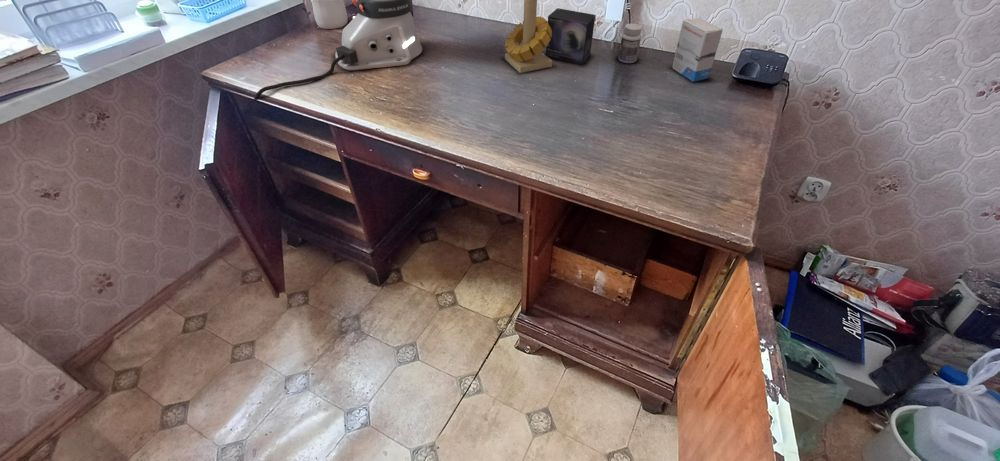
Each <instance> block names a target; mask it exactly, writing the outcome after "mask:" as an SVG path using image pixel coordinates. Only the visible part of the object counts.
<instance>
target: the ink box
mask: <svg viewBox="0 0 1000 461" xmlns="http://www.w3.org/2000/svg"><path fill="white" fill-rule="evenodd" d="M723 30H724V29H723V28H721V27H719V26H717V25H715V24H713V23H711V22H709V21H707V20H705V19H703V18H701V17H696V18H689V19H684V20H682V23H681V28H680V32H679V35H678V40H677V45H676V49H675V54H674V58H673V61H672V67H671V69H673V70H674V71H676V72H677V73H679V74H680V75H682V76H683V77H684V78H686V79H688V80H689V81H690V82H692V83H694V82H698V81H703V80H706V79H709V78H710V75H711V72H712V67H713V65H714V61H715V57H716V55H717V50H718V47H719V44H720V40H721V38H722V33H723Z"/></svg>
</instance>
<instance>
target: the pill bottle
mask: <svg viewBox="0 0 1000 461" xmlns="http://www.w3.org/2000/svg"><path fill="white" fill-rule="evenodd" d="M641 32H642V26H641V25H640V24H638V23H627V24H625V26H624V29H623V33H622V35H621V40H620V45H619V51H618V55H617V56H618V57H617V58H618V61H620V62H621V63H624V64H633V63H636V62H637V60H638V56H639V51H640V46H641V40H642V34H641Z"/></svg>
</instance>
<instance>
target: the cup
mask: <svg viewBox="0 0 1000 461" xmlns="http://www.w3.org/2000/svg"><path fill="white" fill-rule="evenodd" d="M310 1H311V4H312V11H313V17H314V20H315V23H316V24H317V26H318V28H320V29H323V30H336V29H341V28H343V27H346V26H347V25H348V19H349V18H348V13H347V12H348V11H347V9H346V8H347V7H346V5H345V2H344V1H345V0H310Z"/></svg>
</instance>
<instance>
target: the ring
mask: <svg viewBox="0 0 1000 461" xmlns="http://www.w3.org/2000/svg"><path fill="white" fill-rule="evenodd" d="M523 23H524V20H522V22H520V23H518V24H517V25H516V26H514V27H513V30H511V31H510V32H509V34H508V36H507V37H506V40H505V45H504V47H505V50H506V51H507V53H509V54H510V56H511V57H512V58H513V59H514V60H516V61H523V60H525V61H526V60H528V59H531V58H533V57H534V54H535V55H536V56H537V55H538V54H539V53H540V52H542V53H543V51H544V50H545V48H546V47H547V45H548V43H549V42H550V40H551V39H550V38H551V37H552V30H551V27H550V26H549V24H548V20H546V18H544V17H543V16H536V33H535V37H534V38H533V39H532V40H531V41H530V42H529V43H527V44H524V45H523V44H521V43H523Z"/></svg>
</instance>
